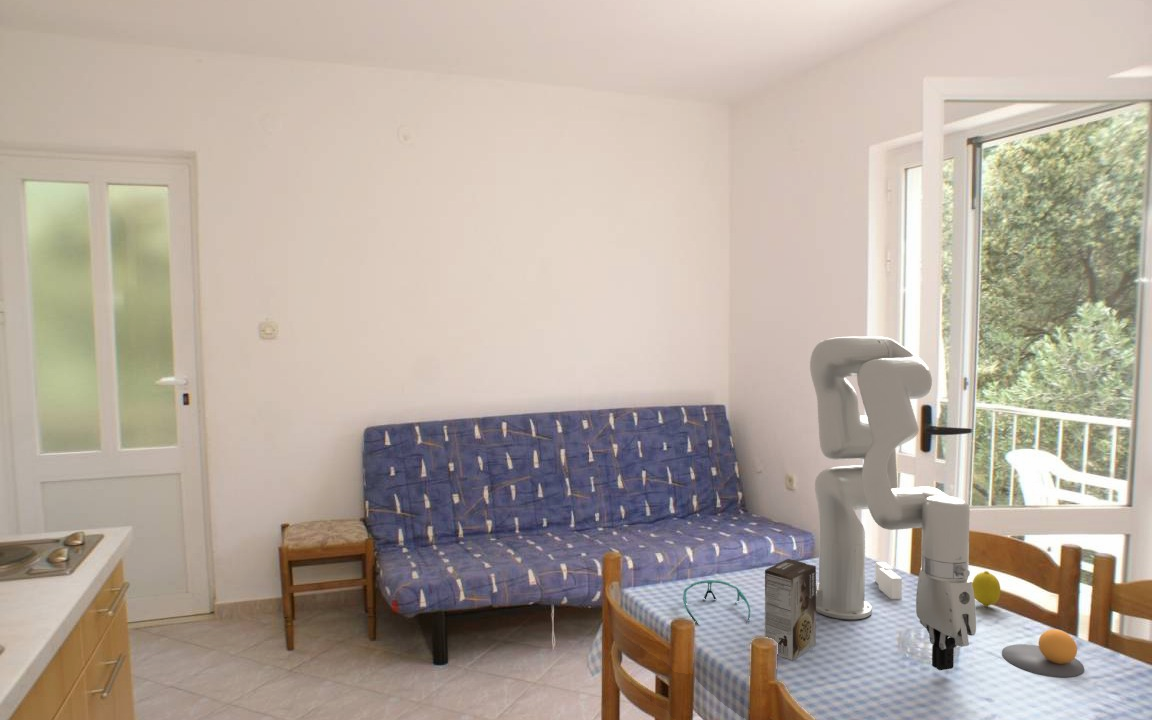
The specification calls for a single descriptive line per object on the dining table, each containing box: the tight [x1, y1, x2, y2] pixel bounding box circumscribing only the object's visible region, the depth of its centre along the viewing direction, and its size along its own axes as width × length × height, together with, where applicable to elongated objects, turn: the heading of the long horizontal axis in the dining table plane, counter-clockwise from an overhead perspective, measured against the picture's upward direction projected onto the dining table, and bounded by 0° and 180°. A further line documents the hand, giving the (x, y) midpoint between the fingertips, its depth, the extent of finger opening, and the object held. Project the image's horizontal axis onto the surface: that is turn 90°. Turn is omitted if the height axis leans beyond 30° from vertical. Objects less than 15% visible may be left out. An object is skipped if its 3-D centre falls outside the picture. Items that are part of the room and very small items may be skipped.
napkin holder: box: [874, 561, 903, 600], centre depth 176 cm, size 15×11×6 cm
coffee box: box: [764, 558, 817, 661], centre depth 144 cm, size 9×6×16 cm
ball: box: [1038, 628, 1078, 664], centre depth 138 cm, size 6×6×6 cm
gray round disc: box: [1001, 643, 1085, 678], centre depth 139 cm, size 13×13×1 cm
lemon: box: [972, 570, 1001, 608], centre depth 164 cm, size 6×6×8 cm
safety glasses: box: [682, 579, 751, 622], centre depth 163 cm, size 14×15×5 cm
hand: (942, 667), depth 133 cm, fingers closed
